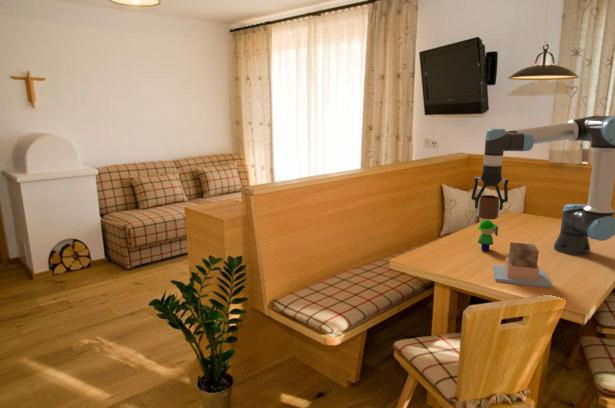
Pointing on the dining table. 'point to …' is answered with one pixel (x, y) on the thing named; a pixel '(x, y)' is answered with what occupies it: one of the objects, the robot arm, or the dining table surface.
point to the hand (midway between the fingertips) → (487, 216)
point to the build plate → (519, 281)
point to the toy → (487, 234)
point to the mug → (488, 207)
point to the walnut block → (523, 255)
